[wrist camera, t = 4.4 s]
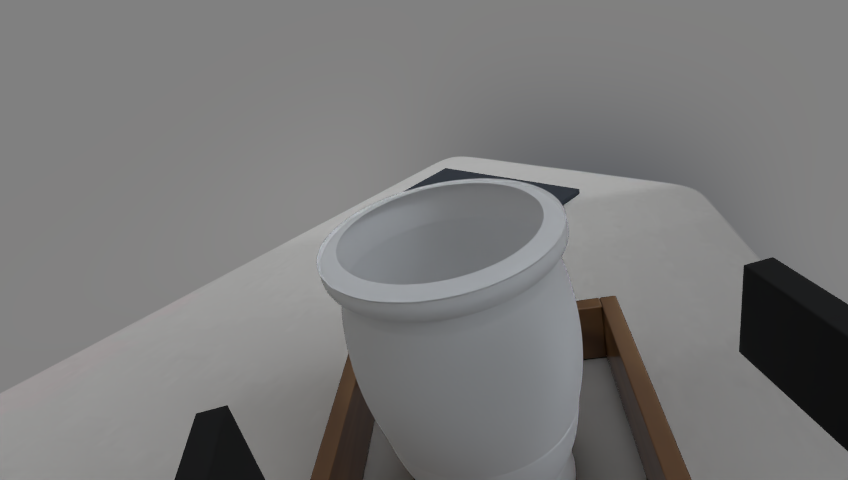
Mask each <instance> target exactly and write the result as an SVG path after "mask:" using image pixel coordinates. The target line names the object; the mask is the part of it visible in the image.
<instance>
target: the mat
mask: <svg viewBox="0 0 848 480" xmlns="http://www.w3.org/2000/svg"><path fill="white" fill-rule="evenodd" d="M479 178H491V179H506V180H514V181H519V182H524V183H528V184H531V185H534V186H537V187H540V188H542V189H544V190H546V191H548V192H549V193H551V194H552V195H554V196H555V197H556V198H557V199H558V200H559V201H560V202H561V204H562V205H564V204H565V203H567V202H568V201H569V200H571V199H572V198H573V197H575V196H576V195H578V194H579V189H574V188H568V187H561V186H555V185H549V184H542V183H536V182H530V181H523V180H517V179H511V178H504V177H498V176H491V175H485V174H479V173H472V172H466V171H460V170H453V169H447V168H445V169H443V170H442V171H440V172H438V173H436V174H434V175H433V176H431V177H429V178H427V179H425V180H423V181H422V182H420V183H418V184H416V185H414V186H413V187H411V188H409V189H407V190H405V191H408V190H411V189H414V188H418V187H422V186H426V185H431V184H435V183H441V182H447V181H454V180H463V179H479Z"/></svg>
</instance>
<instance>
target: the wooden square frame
mask: <svg viewBox="0 0 848 480" xmlns="http://www.w3.org/2000/svg"><path fill="white" fill-rule="evenodd" d="M576 303H577V308H578V313H579V318H580V324H581V332H582V343H583V359H590V358H598V357H606V355H607V358H608V361H609V364H610V367H611V370H612V373H613V376H614V379H615V382H616V385H617V388H618V392H619V395H620V398H621V401H622V404H623V407H624V410H625V413H626V416H627V419H628V422H629V425H630V428H631V431H632V434H633V437H634V440H635V443H636V446H637V449H638V452H639V455H640V458H641V461H642V464H643V467H644V470H645V473H646V476H647V479H648V480H691V477H690V475H689V472H688V470H687V468H686V465H685V463H684V460H683V458H682V455H681V453H680V451H679V448H678V446H677V443H676V441H675V438H674V436H673V434H672V431H671V429H670V426H669V424H668V422H667V419H666V417H665V414H664V412H663V409H662V407H661V405H660V402H659V400H658V397H657V395H656V392H655V390H654V388H653V385H652V383H651V380H650V378H649V376H648V373H647V371H646V368H645V366H644V363H643V361H642V359H641V356H640V354H639V351H638V349H637V347H636V344H635V342H634V339H633V337H632V334H631V332H630V330H629V327H628V325H627V322H626V320H625V317H624V315H623V313H622V310H621V308H620V305H619V303H618V301H617V298H616V296H609V297H601V298H600V299H599V298H594V299H587V300H579V301H576ZM374 420H375V419H374V417H373V415H372V413H371V411H370V409H369V407H368V405H367V403H366V401H365V399H364V397H363V395H362V392H361V390H360V388H359V385H358V382H357V380H356V377H355V374H354V371H353V368H352V364H351V361H350V357H349V354H348V357H347V360H346V364H345V367H344V370H343V373H342V377H341V380H340V383H339V387H338V390H337V393H336V397H335V400H334V403H333V406H332V410H331V413H330V416H329V420H328V423H327V426H326V429H325V433H324V436H323V439H322V443H321V446H320V449H319V453H318V456H317V459H316V462H315V466H314V469H313V472H312V476H311V479H310V480H362V478H363V473H364V468H365V463H366V459H367V454H368V449H369V444H370V439H371V434H372V429H373V425H374Z"/></svg>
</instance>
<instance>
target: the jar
mask: <svg viewBox="0 0 848 480" xmlns="http://www.w3.org/2000/svg"><path fill="white" fill-rule="evenodd" d="M568 237H569V228H568V222H567V218H566V213H565V210H564V207H563V205H562V204H561V202H560V201H559V200H558V199H557V198H556V197H555V196H554V195H552V194H551V193H549V192H548V191H546V190H544V189H542V188H540V187H537V186H534V185H531V184H528V183H524V182H519V181H514V180H506V179H491V178H479V179H463V180H454V181H447V182H441V183H435V184H431V185H426V186H422V187H418V188H414V189H411V190H408V191H404V192H401V193H398V194H396V195H393V196H390V197H388V198H385V199H383V200H380V201H378V202H376V203H374V204H372V205H370V206H368V207H366V208H364V209H362V210H360V211H359V212H357V213H355V214H354V215H352V216H351V217H349V218H348V219H346V220H345V221H344V222H342V223H341V224H340V225H339V226H338V227H336V228H335V229H334V230H333V231H332V232H331V233H330V234H329V236H328V237H327V238H326V239H325V241H324V242H323V244H322V245H321V247H320V249H319V252H318V255H317V269H318V272H319V274H320V276H321V280H322V283H323V285H324V287H325V289H326V291H327V292H328V294H329V295H330V296H331V297H332V298H333V299H334V300H335V301H336V302H337V303H338V304H340V305H341V306H342V320H343V327H344V334H345V339H346V344H347V349H348V353H349V357H350V361H351V364H352V368H353V371H354V374H355V377H356V380H357V382H358V385H359V388H360V390H361V392H362V395H363V397H364V399H365V401H366V403H367V405H368V407H369V409H370V411H371V413H372V415H373V417H374V419H375V420H376V422H377V424H378V425H379V427H380V429H381V430H382V432H383V433H384V435H385V436H386V438H387V439H388V441H389V442H390V444H391V446H392V448H393V450H394V451H395V453H396V455H397V456H398V458H399V459H400V461H401V462H402V464H403V465H404V467H405V468H406V469H407V471H408V472H409V473H410V474H411V475H412V477H413V478H414V479H415V480H576V466H575V460H574V456H573V453H572V447H573V444H574V441H575V437H576V432H577V426H578V417H579V397H580V391H581V384H582V374H583V343H582V332H581V324H580V318H579V313H578V308H577V303H576V299H575V295H574V292H573V288H572V285H571V281H570V278H569V275H568V272H567V270H566V267H565V265H564V262H563V260H562V258H561V257H562V255H563V253H564V251H565V248H566V246H567V242H568Z"/></svg>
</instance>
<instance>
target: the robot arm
mask: <svg viewBox="0 0 848 480" xmlns="http://www.w3.org/2000/svg"><path fill="white" fill-rule="evenodd" d="M739 352H740V353H741V354H742V355H743V356H744V357H746V358H747V359H748V360H749V361H750V362H751V363H752V364H753V365H754V366H755V367H756V368H758V369H759V370H760V371H761V372H762V373H763V374H764V375H765V376H766V377H767V378H768V379H770V380H771V381H772V382H773V383H774V384H775V385H776V386H777V387H778V388H779V389H781V390H782V391H783V392H784V393H785V394H786V395H787V396H788V397H789V398H790V399H791V400H793V401H794V402H795V403H796V404H797V405H798V406H799V407H800V408H801V409H802V410H803V411H805V412H806V413H807V414H808V415H809V416H810V417H811V418H812V419H813V420H814V421H815V422H817V423H818V424H819V425H820V426H821V427H822V428H823V429H824V430H825V431H826V432H827V433H829V434H830V435H831V436H832V437H833V438H834V439H835V440H836V441H837V442H838V443H839V444H841V445H842V446H843V447H844V448H845V449H846V450H847V451H848V304H846V303H845V302H843V301H842V300H840V299H838V298H837V297H835V296H834V295H832V294H830V293H829V292H827V291H826V290H824V289H823V288H821V287H819V286H818V285H816V284H814V283H813V282H811V281H810V280H808V279H806V278H805V277H803V276H802V275H800V274H798V273H797V272H795V271H794V270H792V269H791V268H789V267H788V266H786V265H784V264H783V263H781V262H780V261H778V260H776V259H775V258H769V259H765V260H762V261H758V262H754V263H750V264H747V265H744V274H743V292H742V310H741V327H740V345H739ZM175 480H265V478H264V476H263V474H262V472H261V470H260V469H259V467H258V465H257V463H256V461H255V459H254V457H253V455H252V453H251V451H250V449H249V447H248V445H247V443H246V441H245V439H244V437H243V435H242V433H241V431H240V429H239V427H238V425H237V423H236V421H235V419H234V417H233V415H232V413H231V411H230V409H229V408H228V406H223V407H219V408H216V409H212V410H208V411H204V412H201V413H197V414H196V416H195V419H194V422H193V425H192V428H191V431H190V434H189V437H188V440H187V443H186V446H185V449H184V452H183V456H182V459H181V462H180V465H179V468H178V471H177V474H176V477H175Z"/></svg>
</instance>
